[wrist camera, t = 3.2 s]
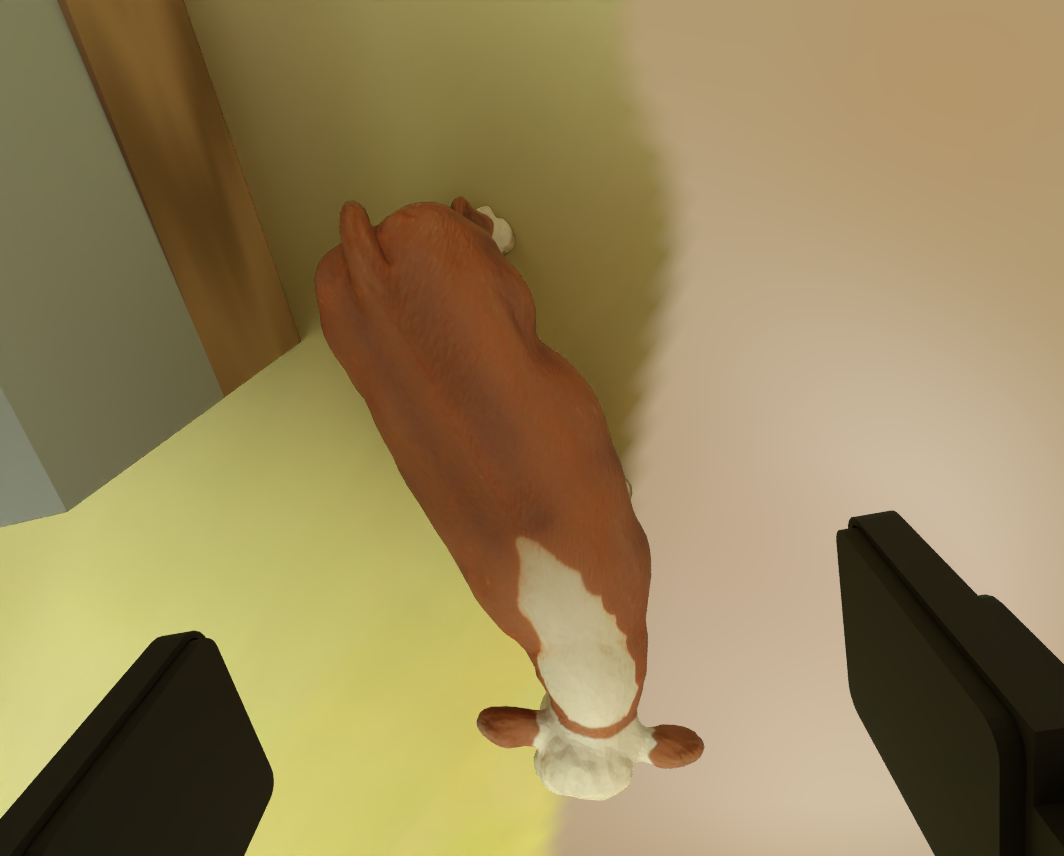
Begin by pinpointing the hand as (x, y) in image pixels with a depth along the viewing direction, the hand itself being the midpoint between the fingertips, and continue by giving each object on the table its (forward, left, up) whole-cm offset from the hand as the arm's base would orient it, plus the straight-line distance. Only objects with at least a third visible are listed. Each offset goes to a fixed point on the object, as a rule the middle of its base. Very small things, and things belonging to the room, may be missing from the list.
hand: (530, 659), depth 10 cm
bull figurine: (0, 0, -10) cm, 10 cm away
